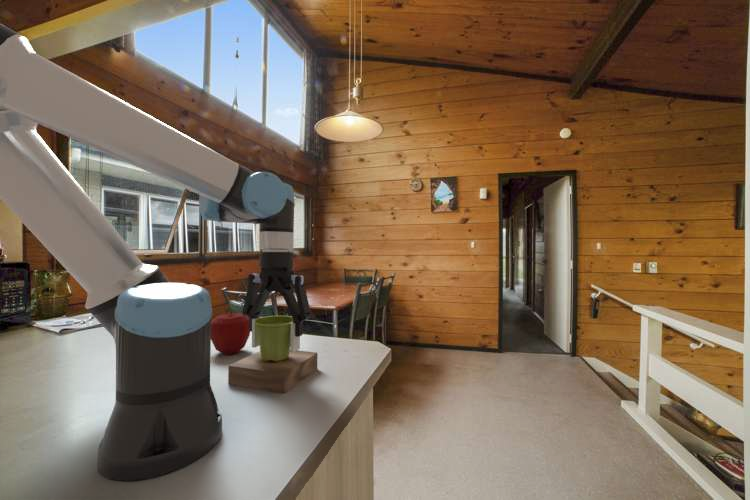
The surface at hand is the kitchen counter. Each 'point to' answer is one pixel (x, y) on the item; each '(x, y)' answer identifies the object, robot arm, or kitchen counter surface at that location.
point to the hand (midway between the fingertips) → (275, 348)
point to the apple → (230, 332)
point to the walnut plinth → (272, 371)
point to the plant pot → (274, 337)
